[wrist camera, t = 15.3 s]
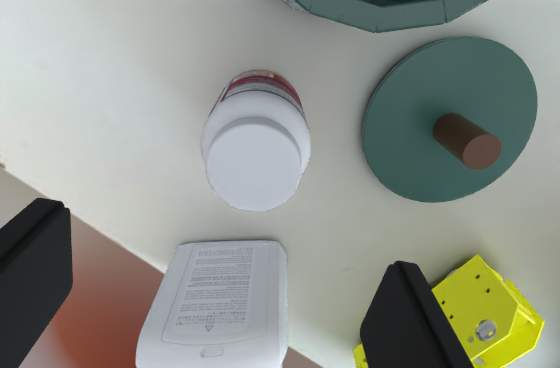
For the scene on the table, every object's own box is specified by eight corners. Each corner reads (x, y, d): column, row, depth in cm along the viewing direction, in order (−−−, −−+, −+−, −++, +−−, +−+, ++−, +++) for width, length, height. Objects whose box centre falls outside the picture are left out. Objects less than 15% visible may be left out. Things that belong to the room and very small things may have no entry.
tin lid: (512, 186, 30) (563, 226, 25) (362, 203, 31) (380, 245, 26) (542, 23, 25) (616, 29, 19) (358, 48, 25) (380, 60, 20)
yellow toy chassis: (469, 245, 33) (526, 316, 26) (506, 275, 35) (570, 351, 27) (348, 341, 38) (365, 423, 31) (385, 363, 40) (410, 446, 33)
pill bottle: (263, 164, 29) (257, 246, 19) (202, 112, 27) (161, 175, 17) (318, 108, 27) (344, 168, 17) (257, 48, 25) (246, 78, 15)
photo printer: (178, 277, 34) (132, 408, 23) (170, 239, 32) (115, 363, 21) (287, 272, 34) (292, 401, 23) (285, 234, 32) (290, 356, 21)
